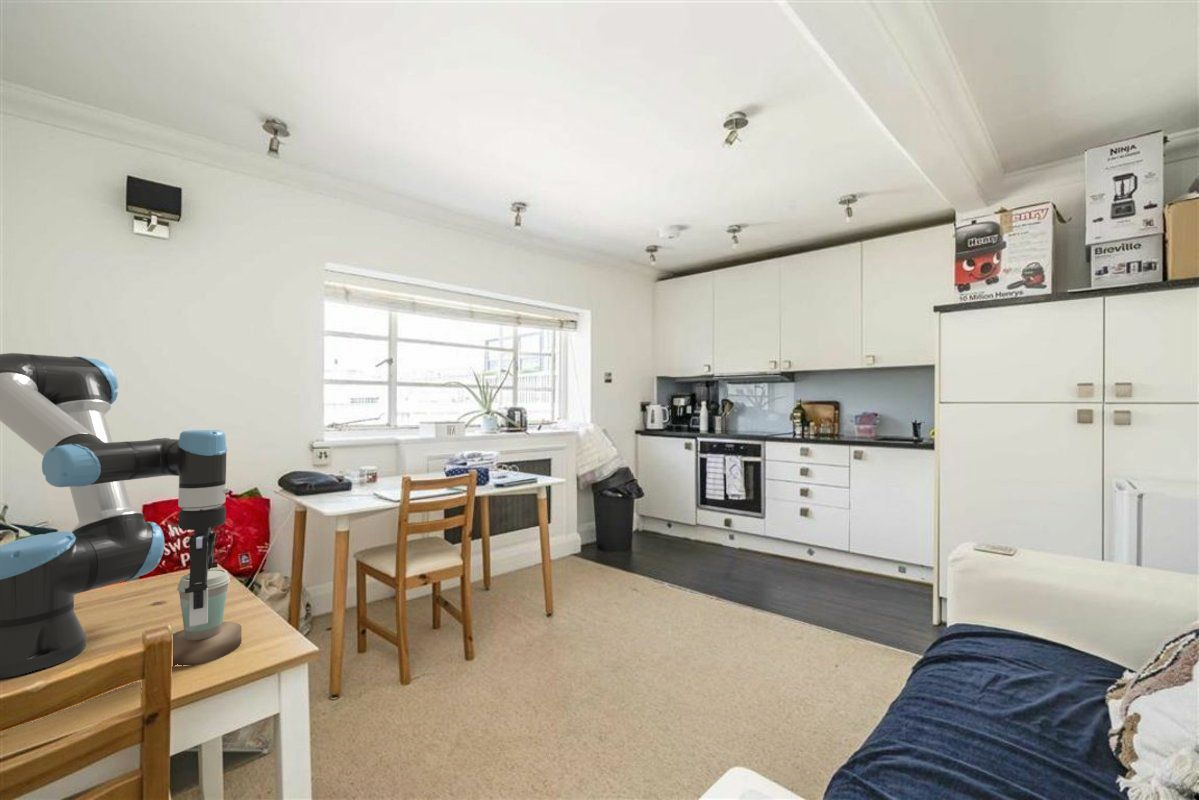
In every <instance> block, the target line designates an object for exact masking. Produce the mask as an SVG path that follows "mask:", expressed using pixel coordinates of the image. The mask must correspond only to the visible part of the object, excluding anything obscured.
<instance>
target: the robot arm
mask: <svg viewBox="0 0 1199 800" xmlns="http://www.w3.org/2000/svg"><path fill="white" fill-rule="evenodd" d="M118 389H119V382H118V378H117V376H116V374H115V372H114V370H113V369H112V368H111V367H110V366H109V365H108V364H107V363H105V362H104V361H102V360H100V359H97V358H89V357H88V358H87V357H83V356H58V355H45V354H44V355H43V354H33V353H32V354H29V353H18V352H17V353H15V352H9V353H0V422H1V423H2V424H4V425H5V426H6V427H7V428H8V429H10V430H11V431H12V432H14V433H15V434H16V435H17V436H18V437H20V439H22V440H23V441H24V442H25V443H26V444H28V445H29V446H30V447H32V448H33V449H34V450H36V451H37V452H38V453H39V454H40V455H42V456H43V457H42V462H41V471H42V474H43V476H44V477H45V481H46V482H47V483H48V485H51V486H53V487H55V488H69V490H70V493H71V496H72V501H73V503H74V504H73V505H74V508H75V511H76V515H77V519H78V523H77V524H76V525H75V527H74V528H73V529H72V530H71V531H65V530H64V531H63V530H62V531H53V532H47V533H43V534H42V533H39V534H36V535H31V536H30V535H29V536H27V537H23V538H19V539H16V540H12V541H9V542H7V543H4V544H2V545H0V679H2V680H3V679H8V678H12V677H17V676H23V675H26V674H25V673H27V674H30V673H29V672H31V673H33V672H32V671H34V672H36V671H35V670H38V669H41V670H43V669H42V668H45V669H47V668H50V667H53V666H56V665H58V664H61V663H63V662H65V661H68V660H70V659H73V658H74V657H75V656H78V655H79V654H81V653H82V652H83V651H84V650H85V649H86V647H87V635H86V633H85V630H84V629H83V627H82V625H81V623H80V621H79V618H78V616H77V615H76V612H75V595H77V594H81V593H85V592H88V591H91V590H96V589H100V588H102V587H103V588H104V587H106V586H110V585H114V584H118V583H122V582H129V581H131V580H133V579H136V578H139V577H141V576H144V575H147V574H149V573H151V572H153V571H154V570H155V569H156V568H157V567H158V565H159V564H160V562H161V560H162V557H163V555H164V551H165V536H164V532H163V529H162V527H161V526H159V525H158V524H157V523H156V522H154V521H146V520H145V517H144V514H143V512H142V511H139V510H137V509H134V508H132V505H131V502H130V501H131V500H130V498H129V494H128V491H127V487H126V484H125V481H132V480H139V479H140V480H141V479H148V478H149V479H150V478H158V477H166V476H169V477H170V476H173V477H175V476H177V477H178V494H177V495H178V496H177V497H178V502H177V503H178V505H177V506H178V507H179V508H181V509H180V510H179V511H178V528H179V529H181V530H183V531H184V530H185V531H190V530H191V531H192V530H193V531H194V532H193V534H192V535H190V537H189V540H188V545H189V549H190V550H189V560H190V563H189V564H190V565H189V574H190V578H189V587H188V588H186V589H185V593H190V614H189V627H190V626H195V625H200V624H206V623H208V588H207V587H208V585H207V575H208V569H217V568H218V564H219V563H218V562H215V561H216V560H215V556H214V555H215V554H214V553H215V552H214V550H215V544H216V543H215V541H216V536H217V535H216V532H213V531H214V528H216V527H220V526H223V525H224V524H225V523H226V521H227V519H226V518H227V513H226V512H227V510H226V509H227V507H226V506H225V505H224V504H225V503H226V501H227V500H226V499H227V498H226V494H229V492H230V488H228V487H226V481H227V452H228V447H227V443H226V442H227V441H226V434H225V432H224V431H222V430H220V429H198V430H197V429H195V430H185V431H183V430H182V431H181V432H180V434H179V437H178V439H177V438H169V437H161V438H151V439H148V440H147V439H146V440H134V441H133V440H131V441H116V442H115V441H113V440H112V436H111V432H110V429H109V425H108V422H107V419H106V417H105V416H106V414H107V413H108V412H109V411H111V409H112V406H111V405H112V404H114V403H115V401H116V400H117V399H118V398H117V397H118V395H119V391H118ZM200 582H202V583H201V584H195V583H200ZM38 671H39V670H38ZM22 674H23V675H22Z"/></svg>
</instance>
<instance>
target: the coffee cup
mask: <svg viewBox="0 0 1199 800" xmlns="http://www.w3.org/2000/svg"><path fill="white" fill-rule="evenodd" d="M189 578H190V573H186V574H185V575H183V576H182V577H181V578H180V580H179V583H178V584H177V587H176V590H177V591H178V592H179V599H180V600H179V601H180V608H181V615H182V624H183V630H184V632H185V638H186V639H187V640H201V639H206V638H209V637H212V636H215V635H217V634H218V633H220V632H221V629H222V623H223V622H224V621H223V620H224V616H225V615H224V614H225V607H226V601H227V594H228V587H229V583H230V582H231V579H230V575H229V574H228V570H226V569H223V568H210V569H208V575H207V585H208V587H207V588H208V623H206V624H200V625H195V626H190V627H189V614H190V593H185V589H186V588H188V587H189ZM201 583H202V582H200V583H195V584H201Z"/></svg>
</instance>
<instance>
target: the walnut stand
mask: <svg viewBox="0 0 1199 800" xmlns="http://www.w3.org/2000/svg"><path fill="white" fill-rule="evenodd" d="M172 634H173V667H172V668H175V667H174V666H175V665H177V664H178V665H182V666H183V665H192V666H196V665H195V664H197V665H201V664H200V663H202V664H205V662H206V663H209V662H211V661H215V660H217V659H220V658H223V657H225V656H227V655H229V654H231V653H232V652H234V651H235V649H236V650H237V649H238V648H239V647H240V646H241V645H242V634H243V633H242V625H241V624H240V623H238V622H234V621H223V623H222V629H221V632H220V633H218V634H217V635H215V636H212V637H209V638H206V639H201V640H187V639H186V638H185V632H184V629H181V630H179V631H176V632H174V633H172ZM240 644H241V645H240Z"/></svg>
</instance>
